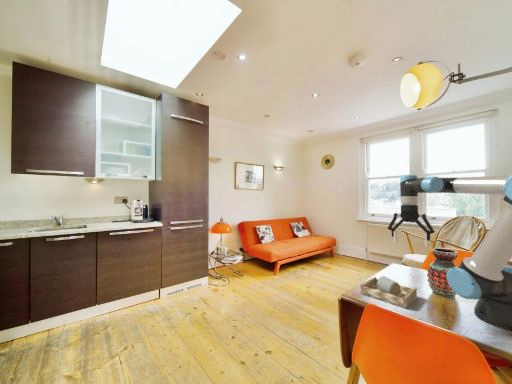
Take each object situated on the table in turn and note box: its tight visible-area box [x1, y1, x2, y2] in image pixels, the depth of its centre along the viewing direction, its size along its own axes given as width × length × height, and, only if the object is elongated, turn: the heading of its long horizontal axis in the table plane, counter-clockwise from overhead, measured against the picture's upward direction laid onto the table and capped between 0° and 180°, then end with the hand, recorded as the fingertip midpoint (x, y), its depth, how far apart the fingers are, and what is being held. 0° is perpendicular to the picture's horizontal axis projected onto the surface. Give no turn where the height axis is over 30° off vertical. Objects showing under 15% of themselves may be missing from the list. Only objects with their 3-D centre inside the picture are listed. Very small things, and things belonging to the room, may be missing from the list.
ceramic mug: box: [377, 275, 401, 296], centre depth 112 cm, size 11×8×8 cm
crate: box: [359, 276, 418, 309], centre depth 112 cm, size 20×17×5 cm
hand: (410, 244), depth 116 cm, fingers open, 13 cm apart
